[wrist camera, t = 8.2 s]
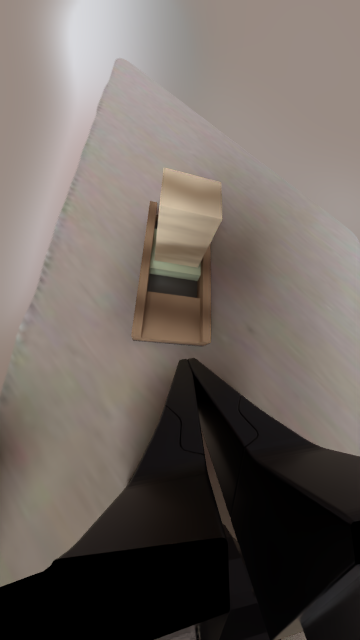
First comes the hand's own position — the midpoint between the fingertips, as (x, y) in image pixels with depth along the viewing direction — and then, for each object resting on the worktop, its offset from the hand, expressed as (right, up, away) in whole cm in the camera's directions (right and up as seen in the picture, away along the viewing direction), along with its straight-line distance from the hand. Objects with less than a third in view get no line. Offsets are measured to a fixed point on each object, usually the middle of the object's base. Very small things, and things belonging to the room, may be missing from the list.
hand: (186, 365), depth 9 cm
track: (-1, +9, +16) cm, 18 cm away
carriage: (-1, +12, +15) cm, 19 cm away
